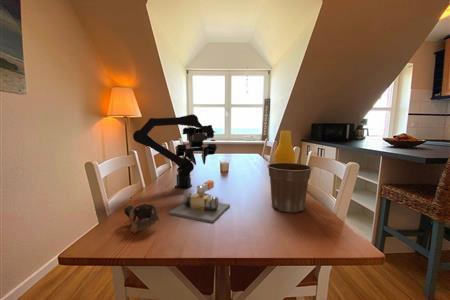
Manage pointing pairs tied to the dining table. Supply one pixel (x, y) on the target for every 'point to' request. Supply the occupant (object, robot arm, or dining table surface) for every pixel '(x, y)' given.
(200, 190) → the valve lever
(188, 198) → the valve body
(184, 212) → the rubber mat
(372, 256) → the dining table surface
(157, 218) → the pottery mug
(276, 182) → the plant pot
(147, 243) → the dining table surface
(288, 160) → the yellow bottle
